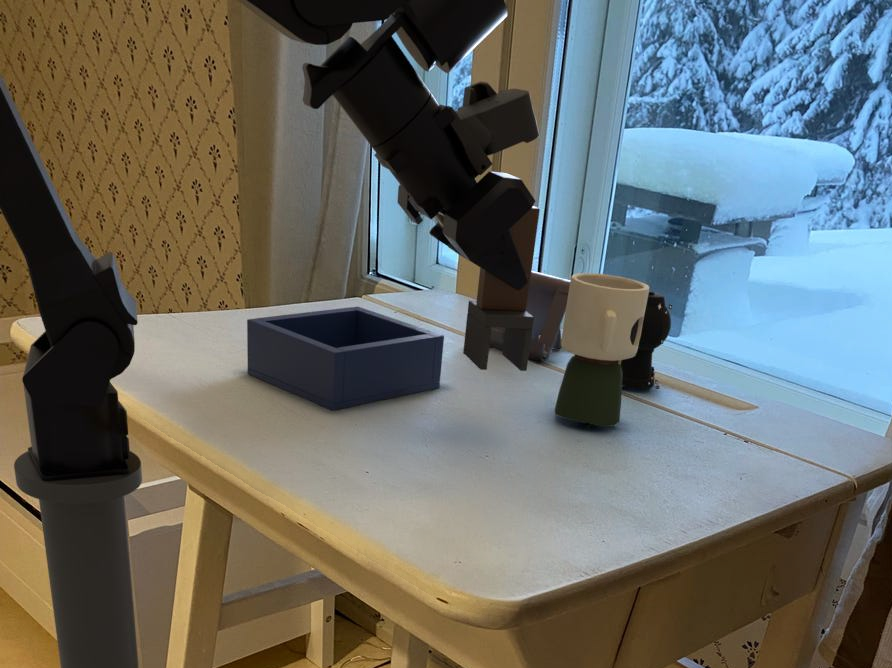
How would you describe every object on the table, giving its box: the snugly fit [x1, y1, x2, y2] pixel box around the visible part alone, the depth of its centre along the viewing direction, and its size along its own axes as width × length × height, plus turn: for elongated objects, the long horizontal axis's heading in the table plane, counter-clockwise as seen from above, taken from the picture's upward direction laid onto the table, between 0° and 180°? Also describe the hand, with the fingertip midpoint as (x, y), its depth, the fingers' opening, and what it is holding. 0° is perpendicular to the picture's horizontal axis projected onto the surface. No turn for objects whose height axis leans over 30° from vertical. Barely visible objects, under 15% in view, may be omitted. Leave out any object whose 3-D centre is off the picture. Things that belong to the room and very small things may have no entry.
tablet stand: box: [489, 270, 571, 363], centre depth 112 cm, size 9×8×8 cm
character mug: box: [554, 272, 650, 428], centre depth 89 cm, size 11×7×13 cm, turn 179°
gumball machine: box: [620, 290, 673, 390], centre depth 103 cm, size 7×6×10 cm
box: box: [246, 306, 445, 411], centre depth 94 cm, size 14×12×5 cm
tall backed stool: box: [462, 205, 541, 372], centre depth 80 cm, size 4×5×12 cm
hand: (519, 283), depth 80 cm, fingers closed on tall backed stool
